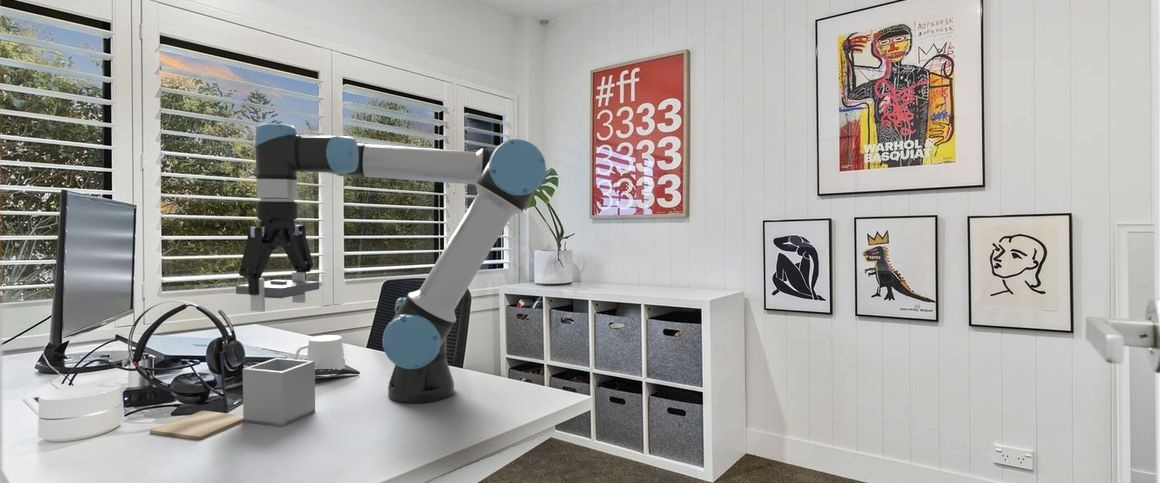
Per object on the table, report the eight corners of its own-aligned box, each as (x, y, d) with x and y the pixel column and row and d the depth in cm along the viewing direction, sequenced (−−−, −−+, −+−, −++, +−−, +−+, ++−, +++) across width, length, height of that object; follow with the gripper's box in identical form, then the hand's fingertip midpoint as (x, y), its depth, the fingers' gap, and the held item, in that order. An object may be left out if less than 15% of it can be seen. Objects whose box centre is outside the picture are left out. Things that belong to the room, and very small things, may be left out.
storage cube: (315, 411, 133) (314, 361, 132) (283, 426, 124) (282, 372, 123) (277, 407, 135) (277, 357, 135) (243, 421, 126) (242, 368, 126)
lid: (319, 292, 132) (319, 278, 132) (282, 300, 121) (281, 285, 121) (276, 290, 135) (275, 277, 135) (236, 297, 124) (235, 282, 124)
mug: (344, 334, 168) (344, 340, 161) (345, 367, 169) (345, 375, 162) (296, 336, 164) (294, 343, 157) (297, 371, 165) (294, 379, 157)
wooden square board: (249, 418, 128) (249, 416, 128) (200, 439, 116) (200, 436, 116) (202, 413, 131) (202, 410, 131) (150, 433, 120) (150, 430, 119)
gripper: (301, 201, 139) (302, 297, 141) (215, 199, 117) (218, 314, 118) (329, 201, 137) (331, 299, 139) (248, 200, 115) (250, 317, 116)
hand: (279, 306), depth 128 cm, fingers closed on lid, 11 cm apart
